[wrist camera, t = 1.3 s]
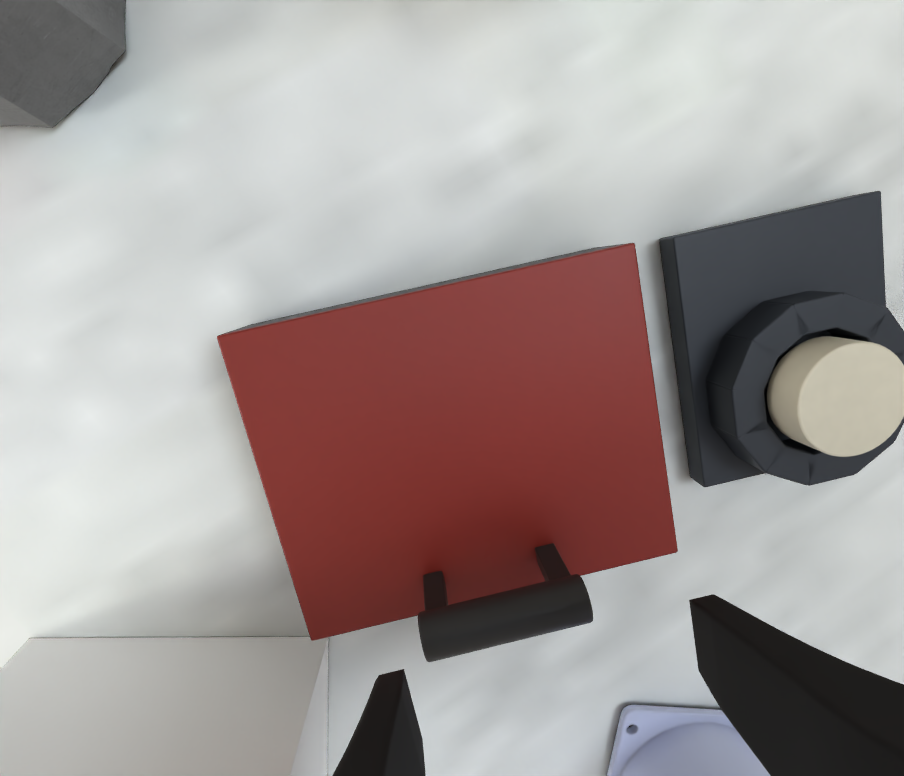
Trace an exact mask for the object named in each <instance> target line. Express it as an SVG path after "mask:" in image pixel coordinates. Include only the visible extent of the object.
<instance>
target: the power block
mask: <svg viewBox="0 0 904 776" xmlns="http://www.w3.org/2000/svg"><path fill="white" fill-rule="evenodd" d="M660 248H661V256H662V263H663V271H664V279H665V286H666V294H667V302H668V309H669V317H670V325H671V332H672V340H673V348H674V355H675V363H676V371H677V378H678V386H679V394H680V401H681V409H682V417H683V424H684V432H685V440H686V447H687V455H688V463H689V470H690V477H691V478H692V479H694V480H695V481H696V482H698V483H699V484H701V485H702V486H703V487H709V486H713V485H717V484H721V483H725V482H730V481H734V480H738V479H742V478H746V477H750V476H755V475H759V474H763V473H767V474H770V475H774V476H777V477H780V478H784V479H787V480H790V481H794V482H797V483H800V484H804V485H813V484H818V483H822V482H826V481H830V480H834V479H838V478H842V477H847V476H851V475H854V474H856V473H858V472H859V471H860V470H861V469H862V468H864V467H865V466H866V465H867V464H868V463H870V462H871V461H872V460H873V459H874V458H876V457H877V456H878V455H879V454H881V453H882V452H883V451H884V450H885V449H887V448H888V447H889V446H890V445H891V444H893V443H894V441H895V440H896V438H897V436H898V434H899V432H900V430H901V427H902V425H903V423H904V417H903V419H902V421H901V423H900V424H899V426H898V427H897V429H896V430H895V431H894V432H893V434H892V435H891V436H890V437H889V438H888V439H887V440H886V441H885V442H883V443H882V444H880V445H879V446H878V447H876V448H874V449H873V450H870V451H868V452H866V453H863V454H860V455H856V456H850V457H838V456H832V455H828V454H825V453H823V452H820V451H818V450H816V449H813V448H811V447H809V446H807V445H804V444H802V443H800V442H797V441H795V440H793V439H791V438H789V437H787V436H786V435H784V434H783V433H782V432H781V431H780V430H779V429H778V428H777V427H776V425H775V424H774V423H773V421H772V419H771V417H770V414H769V411H768V407H767V388H768V384H769V380H770V377H771V375H772V373H773V371H774V369H775V367H776V366H777V364H778V363H779V361H780V360H781V359H782V358H783V356H784V355H785V354H787V353H788V352H789V351H790V350H791V349H792V348H794V347H795V346H797V345H799V344H800V343H802V342H805V341H807V340H809V339H813V338H816V337H822V336H832V337H839V338H846V339H853V340H859V341H866V342H872V343H876V344H879V345H882V346H884V347H886V348H887V349H889V350H891V351H892V352H893V353H894V354H895V355H896V356H897V357H898V358H899V359H900V360H901V362H902V363H903V365H904V331H903V329H902V328H901V327H900V325H899V324H898V322H897V321H896V319H895V318H894V316H893V315H892V313H891V312H890V311H889V310H888V308H886V300H885V278H884V256H883V233H882V211H881V192H880V191H875V192H869V193H864V194H858V195H853V196H848V197H844V198H839V199H835V200H830V201H826V202H822V203H817V204H813V205H808V206H804V207H799V208H795V209H790V210H786V211H781V212H777V213H772V214H768V215H763V216H759V217H755V218H750V219H746V220H741V221H737V222H732V223H728V224H723V225H719V226H714V227H710V228H705V229H701V230H696V231H692V232H688V233H683V234H679V235H674V236H670V237H665V238H661V239H660Z"/></svg>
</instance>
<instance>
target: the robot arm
mask: <svg viewBox="0 0 904 776" xmlns="http://www.w3.org/2000/svg"><path fill="white" fill-rule="evenodd" d="M689 601H690V608H691V616H692V623H693V631H694V638H695V646H696V654H697V661H698V669H699V672H700V674H701V675H702V677H703V679H704V681H705V682H706V684H707V686H708V688H709V689H710V691H711V693H712V695H713V696H714V698H715V700H716V701H717V703H718V705H719V706H720V708H721V710H715V709H698V708H681V707H664V706H647V705H629V706H626V707H625V708H624V709H623V710H622V712H621V715H620V720H619V724H618V729H617V733H616V738H615V742H614V747H613V751H612V756H611V760H610V765H609V769H608V774H607V776H904V685H903V684H900V683H898V682H895V681H892V680H889V679H887V678H884V677H882V676H879V675H877V674H874V673H871V672H869V671H866V670H864V669H861V668H859V667H856V666H854V665H852V664H849V663H847V662H845V661H842V660H840V659H838V658H836V657H834V656H831V655H829V654H827V653H825V652H823V651H821V650H818V649H816V648H814V647H812V646H810V645H808V644H806V643H804V642H802V641H800V640H798V639H796V638H794V637H792V636H790V635H788V634H786V633H784V632H782V631H780V630H778V629H776V628H775V627H773V626H771V625H769V624H767V623H765V622H763V621H762V620H760V619H758V618H756V617H754V616H752V615H751V614H749V613H747V612H745V611H743V610H742V609H740V608H738V607H736V606H734V605H732V604H731V603H729V602H727V601H725V600H723V599H721V598H719V597H717V596H715V595H709V596H704V597H700V598H696V599H692V600H689ZM630 725H633V726H631V727H628V726H630ZM627 727H628V728H627ZM333 776H425V764H424V752H423V741H422V736H421V732H420V728H419V725H418V721H417V717H416V713H415V710H414V706H413V702H412V698H411V695H410V691H409V687H408V683H407V680H406V676H405V672H404V669H403V670H398V671H394V672H390V673H386V674H382V675H379V676H378V678H377V679H376V681H375V684H374V686H373V689H372V692H371V694H370V697H369V699H368V702H367V704H366V707H365V709H364V711H363V714H362V716H361V718H360V721H359V723H358V725H357V727H356V729H355V732H354V734H353V736H352V738H351V740H350V742H349V744H348V747H347V749H346V751H345V753H344V755H343V757H342V759H341V761H340V762H339V764H338V766H337V768H336V770H335V772H334V774H333Z"/></svg>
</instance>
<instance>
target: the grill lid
mask: <svg viewBox="0 0 904 776" xmlns="http://www.w3.org/2000/svg"><path fill="white" fill-rule="evenodd" d="M217 340H218V343H219V346H220V349H221V352H222V356H223V359H224V362H225V365H226V368H227V372H228V375H229V378H230V381H231V384H232V388H233V391H234V394H235V397H236V401H237V404H238V407H239V410H240V413H241V417H242V420H243V423H244V426H245V429H246V433H247V436H248V439H249V442H250V446H251V449H252V452H253V455H254V458H255V462H256V465H257V468H258V471H259V474H260V478H261V481H262V484H263V487H264V490H265V494H266V497H267V500H268V503H269V507H270V510H271V513H272V516H273V519H274V523H275V526H276V529H277V532H278V535H279V539H280V542H281V545H282V548H283V552H284V555H285V558H286V561H287V564H288V568H289V571H290V574H291V577H292V580H293V584H294V587H295V590H296V593H297V596H298V600H299V603H300V606H301V609H302V613H303V616H304V619H305V622H306V625H307V629H308V632H309V635H310V638H311V640H312V641H314V640H318V639H322V638H326V637H330V636H334V635H339V634H343V633H347V632H351V631H355V630H359V629H363V628H367V627H371V626H376V625H380V624H384V623H388V622H392V621H396V620H400V619H404V618H408V617H413V616H417V615H418V625H419V632H420V638H421V643H422V648H423V652H424V655H425V658H426V660H427V662H432V661H436V660H441V659H445V658H449V657H453V656H457V655H461V654H465V653H469V652H473V651H477V650H481V649H485V648H489V647H493V646H497V645H501V644H506V643H510V642H514V641H518V640H522V639H526V638H530V637H534V636H538V635H542V634H546V633H550V632H554V631H558V630H562V629H566V628H570V627H575V626H579V625H583V624H587V623H591V622H592V621H593V611H592V606H591V602H590V598H589V595H588V592H587V589H586V586H585V584H584V582H583V580H582V578H581V577H580V576H581V575H585V574H589V573H593V572H598V571H602V570H606V569H610V568H614V567H618V566H622V565H626V564H630V563H635V562H639V561H643V560H647V559H651V558H655V557H659V556H663V555H667V554H672V553H676V552H677V551H678V549H677V542H676V535H675V528H674V521H673V514H672V507H671V499H670V492H669V485H668V478H667V471H666V464H665V457H664V450H663V442H662V435H661V428H660V421H659V414H658V407H657V400H656V392H655V385H654V378H653V371H652V364H651V357H650V350H649V343H648V335H647V328H646V321H645V314H644V307H643V300H642V293H641V285H640V278H639V271H638V264H637V257H636V250H635V244H634V243H628V244H623V245H619V246H614V247H610V248H605V249H601V250H596V251H592V252H587V253H583V254H578V255H574V256H569V257H565V258H560V259H556V260H552V261H547V262H543V263H538V264H534V265H529V266H525V267H520V268H516V269H511V270H507V271H502V272H498V273H493V274H489V275H484V276H480V277H476V278H471V279H467V280H462V281H458V282H453V283H449V284H444V285H440V286H435V287H431V288H426V289H422V290H417V291H413V292H408V293H404V294H400V295H395V296H391V297H386V298H382V299H377V300H373V301H368V302H364V303H359V304H355V305H350V306H346V307H341V308H337V309H332V310H328V311H324V312H319V313H315V314H310V315H306V316H301V317H297V318H292V319H288V320H283V321H279V322H274V323H270V324H265V325H261V326H256V327H252V328H248V329H243V330H239V331H234V332H230V333H225V334H222V335H219V336H217Z"/></svg>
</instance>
